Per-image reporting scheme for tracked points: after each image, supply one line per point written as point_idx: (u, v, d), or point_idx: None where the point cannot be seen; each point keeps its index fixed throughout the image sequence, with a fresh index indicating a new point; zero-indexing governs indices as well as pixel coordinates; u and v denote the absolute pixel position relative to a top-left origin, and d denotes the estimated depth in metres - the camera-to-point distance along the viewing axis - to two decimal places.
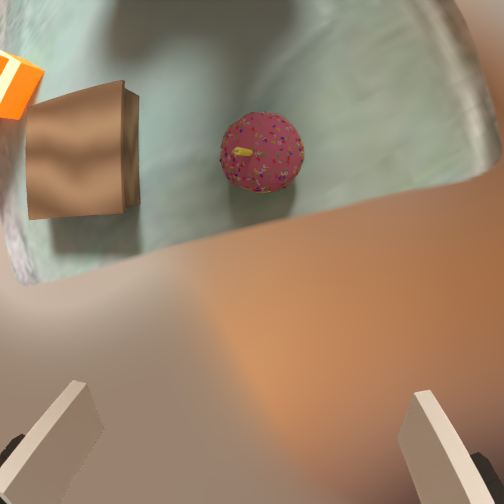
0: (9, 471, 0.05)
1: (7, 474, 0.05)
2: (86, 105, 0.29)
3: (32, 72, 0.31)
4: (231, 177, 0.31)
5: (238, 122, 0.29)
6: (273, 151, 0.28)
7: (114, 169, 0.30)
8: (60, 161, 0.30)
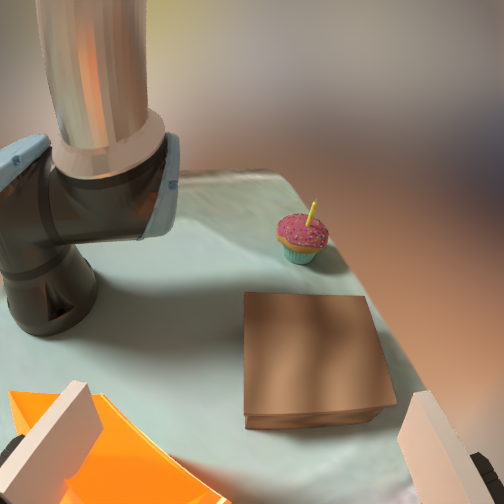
0: (9, 471, 0.05)
1: (7, 474, 0.05)
2: (264, 324, 0.33)
3: None
4: (322, 241, 0.47)
5: (286, 234, 0.47)
6: (305, 216, 0.49)
7: (329, 299, 0.36)
8: (325, 354, 0.30)
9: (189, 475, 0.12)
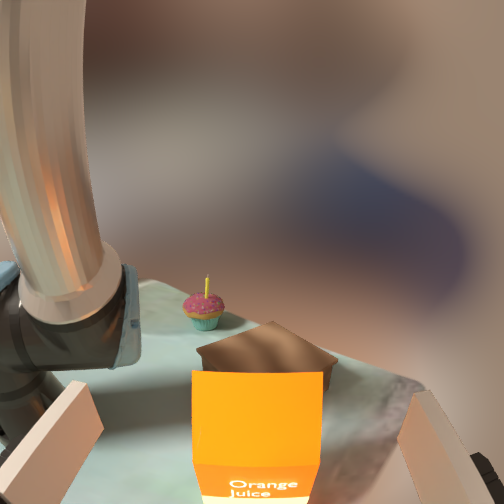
0: (9, 471, 0.05)
1: (7, 474, 0.05)
2: (224, 359, 0.43)
3: None
4: (221, 305, 0.61)
5: (195, 309, 0.59)
6: (200, 293, 0.63)
7: (253, 331, 0.50)
8: (275, 356, 0.43)
9: None
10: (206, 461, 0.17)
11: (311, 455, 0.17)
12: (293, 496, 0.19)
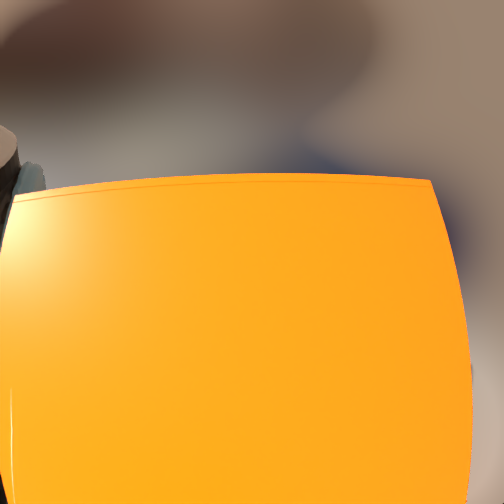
0: None
1: None
2: None
3: None
4: None
5: None
6: None
7: None
8: None
9: None
10: None
11: (445, 491, 0.03)
12: None
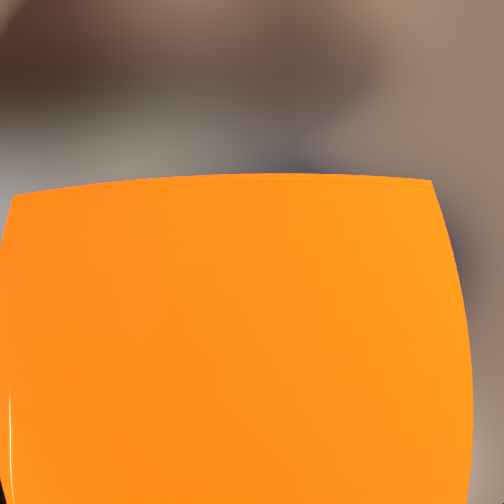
0: None
1: None
2: None
3: None
4: None
5: None
6: None
7: None
8: None
9: None
10: None
11: (445, 493, 0.03)
12: None
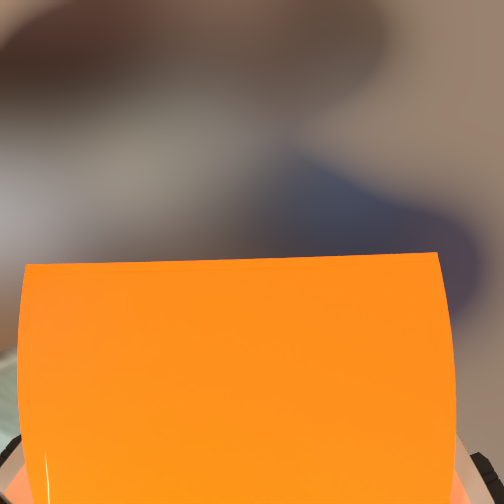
0: (9, 471, 0.05)
1: (7, 474, 0.05)
2: None
3: None
4: None
5: None
6: None
7: None
8: None
9: None
10: None
11: None
12: None
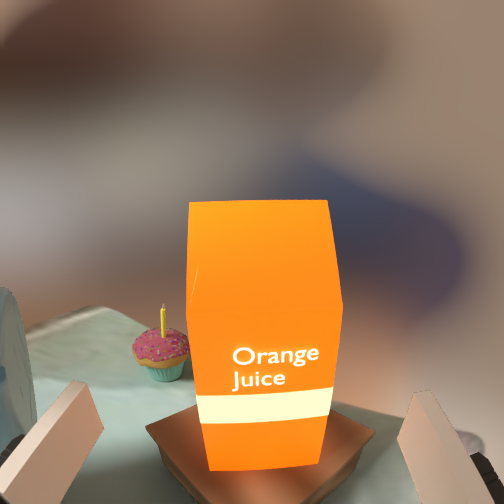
0: (9, 471, 0.05)
1: (7, 474, 0.05)
2: (190, 447, 0.22)
3: None
4: (186, 346, 0.41)
5: (147, 354, 0.38)
6: (156, 330, 0.42)
7: None
8: None
9: None
10: (204, 310, 0.16)
11: (331, 294, 0.17)
12: (314, 387, 0.18)
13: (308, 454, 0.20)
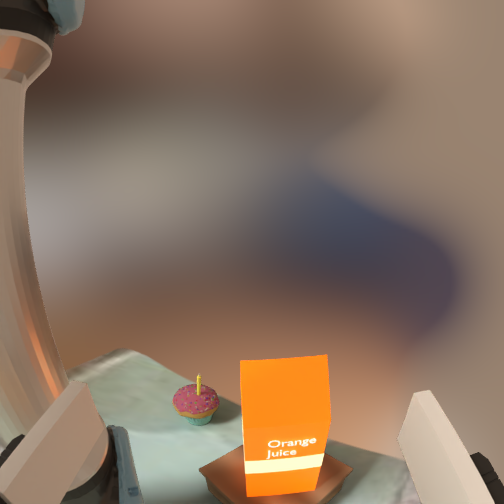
0: (9, 471, 0.05)
1: (7, 474, 0.05)
2: (232, 482, 0.32)
3: None
4: (216, 400, 0.51)
5: (187, 409, 0.48)
6: (191, 388, 0.52)
7: None
8: None
9: None
10: (253, 425, 0.26)
11: (324, 413, 0.27)
12: (312, 454, 0.28)
13: (308, 485, 0.30)
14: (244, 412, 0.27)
